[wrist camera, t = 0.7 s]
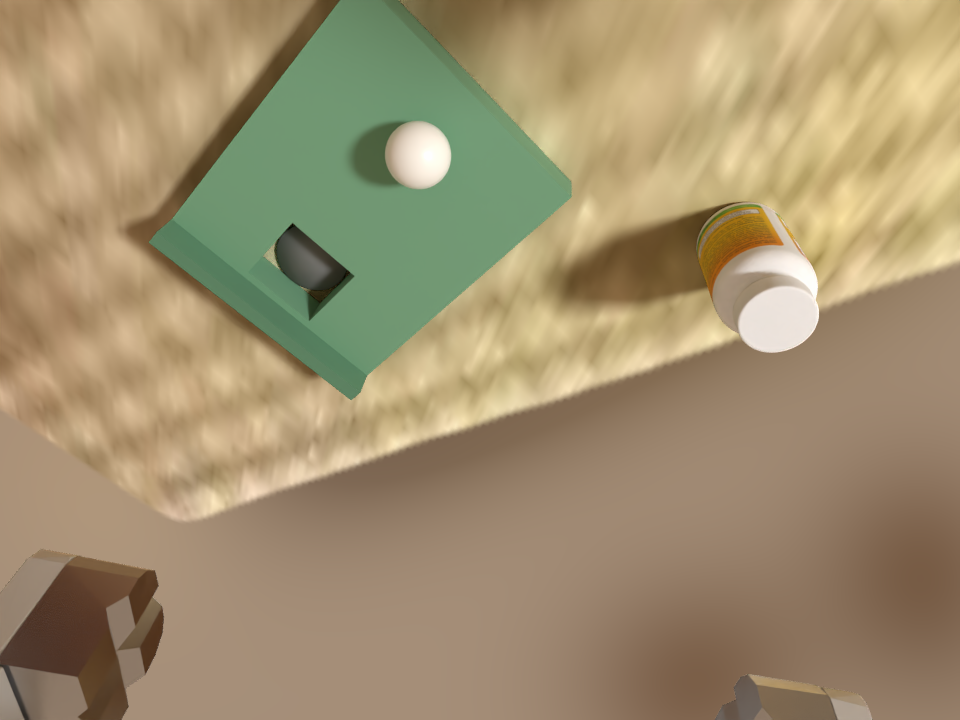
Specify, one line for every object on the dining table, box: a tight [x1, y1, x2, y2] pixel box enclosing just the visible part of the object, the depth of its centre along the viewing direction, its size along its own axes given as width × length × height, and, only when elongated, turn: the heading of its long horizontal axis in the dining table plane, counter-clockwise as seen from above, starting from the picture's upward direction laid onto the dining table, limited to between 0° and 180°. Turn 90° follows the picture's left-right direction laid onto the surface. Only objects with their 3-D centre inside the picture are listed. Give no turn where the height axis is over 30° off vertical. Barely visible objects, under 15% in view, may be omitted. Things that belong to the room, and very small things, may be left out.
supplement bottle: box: [696, 202, 819, 352], centre depth 40 cm, size 5×5×10 cm
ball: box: [385, 121, 451, 189], centre depth 39 cm, size 4×4×4 cm
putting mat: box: [149, 0, 572, 400], centre depth 43 cm, size 20×16×4 cm
